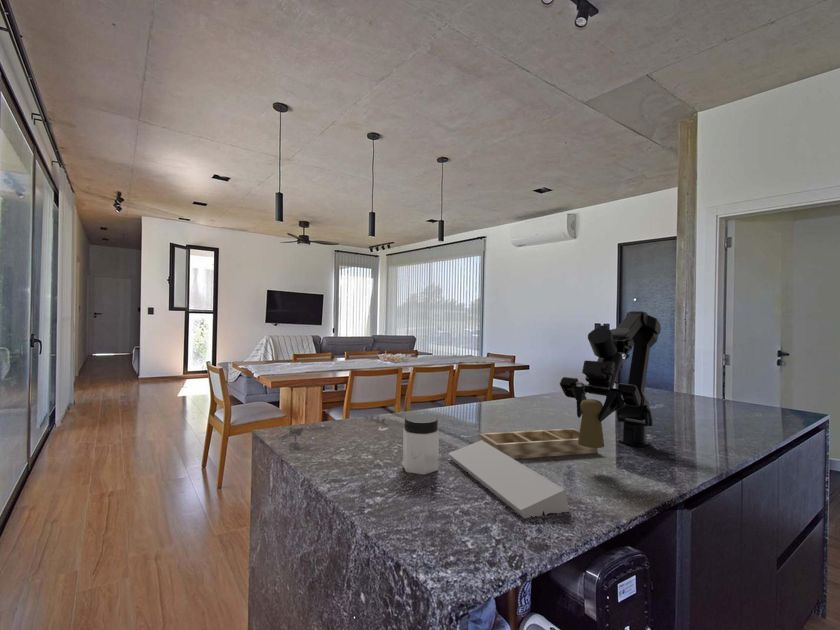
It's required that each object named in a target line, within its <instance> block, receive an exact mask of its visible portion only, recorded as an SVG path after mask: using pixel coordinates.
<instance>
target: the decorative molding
mask: <svg viewBox="0 0 840 630" xmlns="http://www.w3.org/2000/svg"><path fill="white" fill-rule="evenodd" d="M447 454H448V456H449V458H450V460H451V461H452V462H454V463H455V464H456V465H457V464H458V465H457V466H459V468H461V469H462V470H464V471H465V472H466V473H467V472H468V473H467V474H469V476H471V477H472V478H474V480H476V481H477V482H478V481H479V484H481V485H482V486H483V485H484V486H483V487H485V488H486V489H487V488H488V489H489V490H488V489H487V490H488V491H490V492H491V493H492V494H493V493H494V494H493V495H495V496H496V497H497V498H498V499H500V500H501V502H504V504H506V506H508V507H509V508H511V509H512V510H513V511H514V510H515V512H516V513H517V514H518V515H519V514H520V515H519V516H521V517H522V518H523V519H529V518H536V517H535V516H537V517H542V516H543V514H544V516H547V515H548V514H555V513H557V514H563V513H562V512H564V513H569V512H570V508H569V507H570V506H569V502H568V497H567V493H566V489H565V488H563V487H561V486H560V485H558V484H556V482H555V483H554V482H553V481H551V480H550V479H548V478H546V477H544V476H543V475H541V474H539V473H538V472H536V471H535V470H532V469H531V468H529V467H528V466H527V465H524V464H522V463H521V462H519V461H517V459H512V458H511V457H509V456H507V455H506V454H504V453H502V452H501V451H499V450H497V449H496V448H494V447H492V446H491V445H489V444H487V443H486V442H484V441H482V440H481V441H479V440H478V441H475V442H474V443H471V444H467V445H466V446H464V447H461V448H458V449H456V450H453V451H451V452H447ZM531 516H532V517H531Z"/></svg>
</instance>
